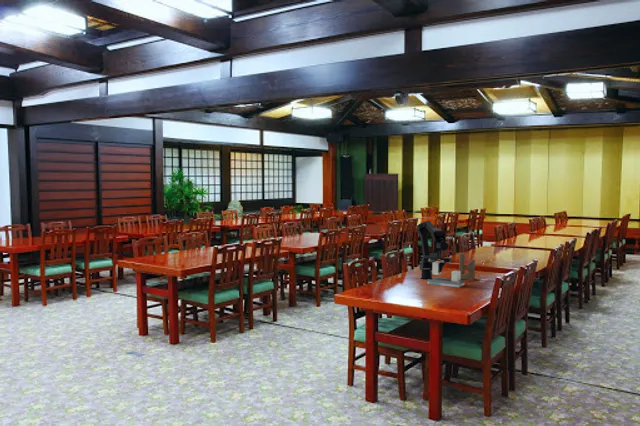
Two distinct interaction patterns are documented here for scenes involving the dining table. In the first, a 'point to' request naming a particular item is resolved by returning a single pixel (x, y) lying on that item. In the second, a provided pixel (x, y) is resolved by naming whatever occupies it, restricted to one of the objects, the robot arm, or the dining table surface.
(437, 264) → the white rectangular block
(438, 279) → the rail
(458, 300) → the dining table surface
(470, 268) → the beige frame piece
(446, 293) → the dining table surface
